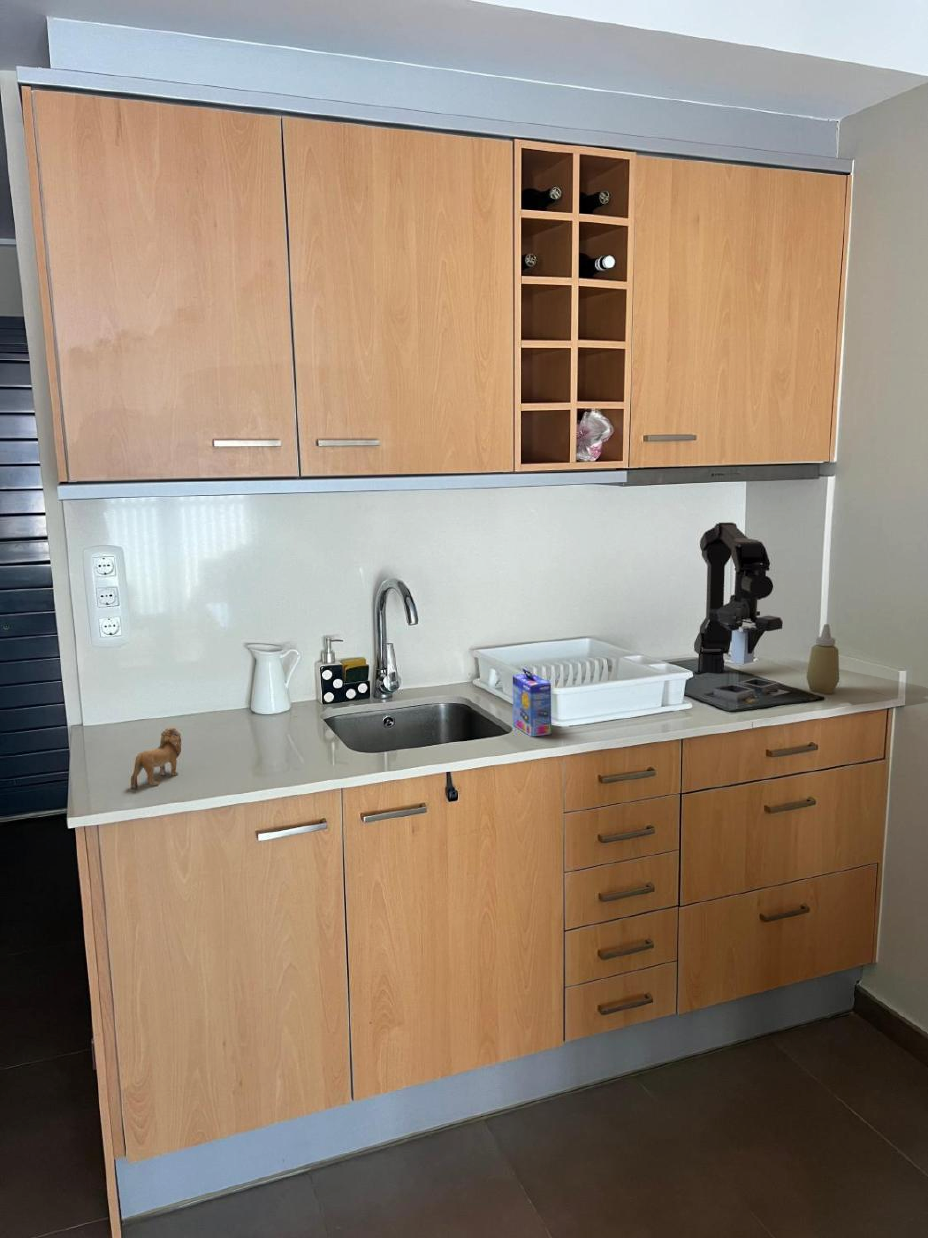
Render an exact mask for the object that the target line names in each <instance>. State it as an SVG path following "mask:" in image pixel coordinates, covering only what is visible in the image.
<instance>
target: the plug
mask: <svg viewBox="0 0 928 1238" xmlns="http://www.w3.org/2000/svg"><path fill="white" fill-rule="evenodd" d="M746 628H750V627H749V626H748V625H747V626H746V625H742V627H739V629H738V630H733V631H732V643H731V644H730V662H733V663H736V664H742V665H747V664H751V663H754V661H755V660H754V659H755V649H754V650H753V652H752V653H751V654H748V632H747V630H746Z"/></svg>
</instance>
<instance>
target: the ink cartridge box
mask: <svg viewBox="0 0 928 1238" xmlns="http://www.w3.org/2000/svg"><path fill="white" fill-rule="evenodd" d="M522 671H523V673H521V674H513V675H512V725H513V726H514V727H515V728H517V730H520V731H522V732H523V733H524V734H526V735H527V736H529V737H531V738H532V737H533V738H534V737H540V736H541V737H542V736H547V735H549V736H550V735H552V684H551V682H550V681H549V680H546V679H544V678H541V677H539V675H537V674H534V673H531V671H530V670H527V669H525V668H523V667H522Z"/></svg>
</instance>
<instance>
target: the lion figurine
mask: <svg viewBox="0 0 928 1238" xmlns="http://www.w3.org/2000/svg"><path fill="white" fill-rule="evenodd" d="M160 736H161V737H160V743H159V747H157V748H155V749H153V750H144V751H141V752H140V753H139V754H137V756H136V757H135V761H134V768H133V769H134V770H133V773H132V774H131V777H130V788H131V789H133V791H138V788H139V785H138V776H139V775H140V773H142V771H143V769H144V771H145V772H146V776H147V778H146V780H147V781H148V782H149V784H151V786H153V787H156V786H157V787H158V786H159V784H160V783H159V782H158V781H155V780H154V772H155V768H159V775H160V776H165V775H166V774H167V771H166V764H168V763H169V764H170V767H171V768H170V769H171V770H170V772H171V775H172V776H174V777H175V776H179V772H177V764H178V763H177V758H178V757H179V756H180V755H181V752H182V736H181V733H180V732H179V731H178V729H176V728H174V727H167V728H165V729H164V730H162V732H161V733H160Z"/></svg>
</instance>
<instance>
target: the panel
mask: <svg viewBox="0 0 928 1238" xmlns="http://www.w3.org/2000/svg"><path fill="white" fill-rule="evenodd" d="M788 693H789V691H787V690H783V689H780V688H779V682H775V681H770V680H766V679H763V678H757V677H753V678H750V679H745V680H741V681H738V684H733V683H729V684H725V685H721V686H719V687H714V689H713V691H712V692H708V693H704V694H702V696H705V697H710V698H713V699H716V700H720V701H724V702H728V703H731V704H735V705H737V706H738V705H739V706H744V705H747V704H752V703H754V702H758V701H761V700H766V699H771V698H773V697H777V696H780V695H784V694H788Z"/></svg>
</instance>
